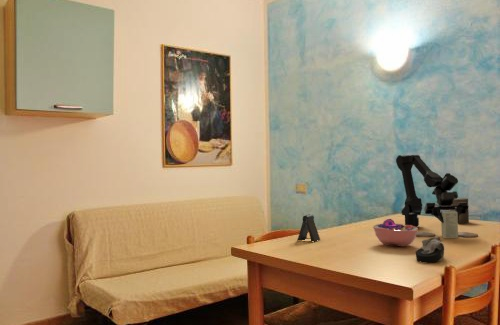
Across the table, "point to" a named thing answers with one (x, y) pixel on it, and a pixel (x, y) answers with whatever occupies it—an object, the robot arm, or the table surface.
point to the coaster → (424, 234)
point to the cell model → (395, 233)
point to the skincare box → (449, 224)
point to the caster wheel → (431, 250)
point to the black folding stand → (308, 229)
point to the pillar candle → (462, 217)
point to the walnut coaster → (467, 234)
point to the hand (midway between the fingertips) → (450, 222)
